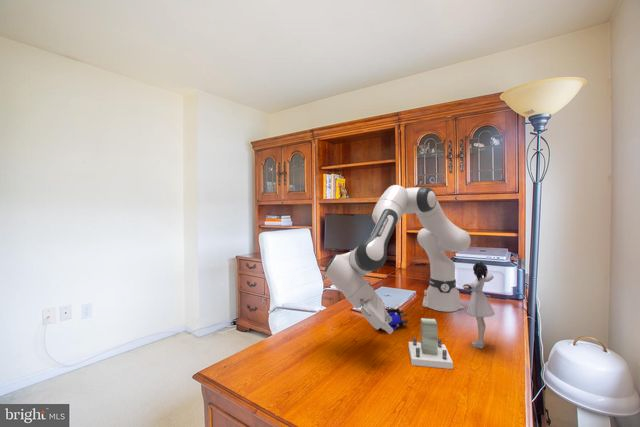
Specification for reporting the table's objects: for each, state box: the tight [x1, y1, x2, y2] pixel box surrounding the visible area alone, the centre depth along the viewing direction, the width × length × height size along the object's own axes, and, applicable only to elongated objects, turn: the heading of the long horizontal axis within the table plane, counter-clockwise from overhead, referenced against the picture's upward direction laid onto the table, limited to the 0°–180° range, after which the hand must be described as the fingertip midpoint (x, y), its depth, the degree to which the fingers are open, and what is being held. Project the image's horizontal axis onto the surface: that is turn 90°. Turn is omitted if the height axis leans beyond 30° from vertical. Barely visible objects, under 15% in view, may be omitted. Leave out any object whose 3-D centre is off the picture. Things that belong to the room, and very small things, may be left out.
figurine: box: [461, 261, 496, 349], centre depth 104 cm, size 25×8×30 cm, turn 135°
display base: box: [408, 336, 454, 370], centre depth 98 cm, size 12×12×4 cm
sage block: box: [420, 317, 439, 355], centre depth 98 cm, size 4×4×10 cm
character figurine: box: [378, 308, 409, 331], centre depth 121 cm, size 8×7×15 cm
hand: (391, 326), depth 100 cm, fingers open, 8 cm apart
